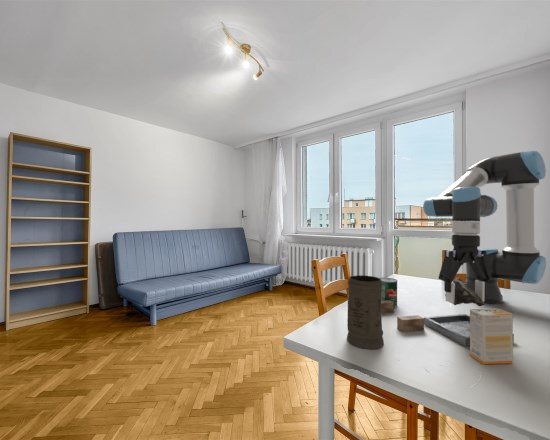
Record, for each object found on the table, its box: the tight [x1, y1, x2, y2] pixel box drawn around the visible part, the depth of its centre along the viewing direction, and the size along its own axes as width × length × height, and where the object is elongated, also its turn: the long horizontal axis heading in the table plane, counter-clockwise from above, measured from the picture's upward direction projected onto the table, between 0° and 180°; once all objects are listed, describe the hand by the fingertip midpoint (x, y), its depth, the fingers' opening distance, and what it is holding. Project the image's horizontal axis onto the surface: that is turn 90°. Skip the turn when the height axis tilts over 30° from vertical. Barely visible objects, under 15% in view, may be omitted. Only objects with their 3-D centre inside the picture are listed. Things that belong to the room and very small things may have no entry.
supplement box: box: [469, 308, 514, 365], centre depth 72 cm, size 8×5×13 cm, turn 92°
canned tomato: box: [379, 277, 398, 308], centre depth 116 cm, size 8×8×11 cm
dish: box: [423, 313, 515, 348], centre depth 88 cm, size 17×17×2 cm
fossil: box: [444, 277, 485, 307], centre depth 88 cm, size 11×9×10 cm
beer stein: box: [346, 274, 385, 350], centre depth 84 cm, size 15×11×20 cm
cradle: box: [381, 300, 425, 333], centre depth 99 cm, size 8×20×4 cm, turn 10°
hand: (464, 301), depth 88 cm, fingers closed on fossil, 10 cm apart
